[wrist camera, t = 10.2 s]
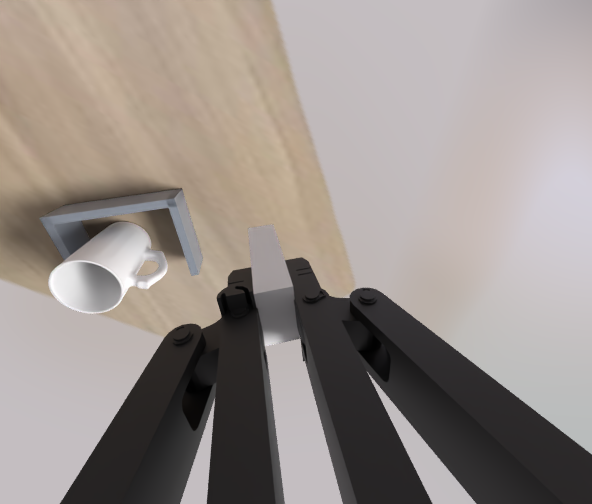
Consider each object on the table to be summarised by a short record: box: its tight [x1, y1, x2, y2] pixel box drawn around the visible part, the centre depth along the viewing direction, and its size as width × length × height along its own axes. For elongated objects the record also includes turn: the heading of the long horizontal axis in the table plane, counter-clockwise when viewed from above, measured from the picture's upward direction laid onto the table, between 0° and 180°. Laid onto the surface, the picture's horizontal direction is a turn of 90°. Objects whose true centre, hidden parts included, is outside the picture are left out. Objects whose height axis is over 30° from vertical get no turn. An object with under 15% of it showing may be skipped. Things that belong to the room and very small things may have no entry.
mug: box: [48, 222, 168, 313], centre depth 34 cm, size 10×7×12 cm, turn 77°
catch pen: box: [40, 189, 203, 276], centre depth 36 cm, size 11×15×5 cm
